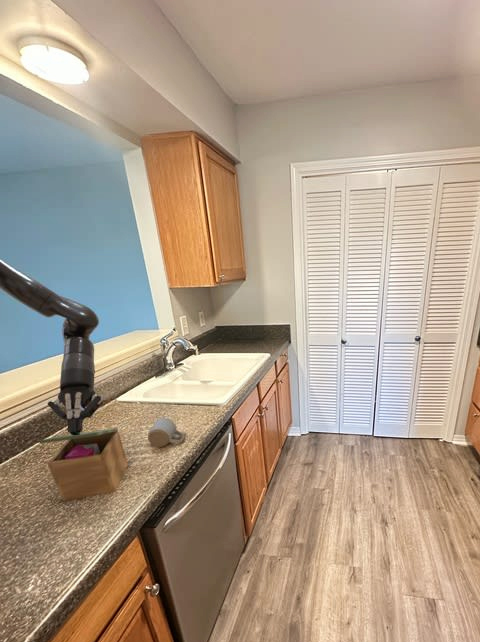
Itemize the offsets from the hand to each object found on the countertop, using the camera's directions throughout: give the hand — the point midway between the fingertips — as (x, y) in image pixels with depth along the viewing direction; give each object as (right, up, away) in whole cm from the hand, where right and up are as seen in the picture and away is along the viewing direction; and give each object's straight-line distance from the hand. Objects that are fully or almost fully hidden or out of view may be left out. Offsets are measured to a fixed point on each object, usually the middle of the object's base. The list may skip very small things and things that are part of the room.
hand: (74, 433), depth 82 cm
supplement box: (-1, -15, +9) cm, 18 cm away
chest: (0, -15, +10) cm, 18 cm away
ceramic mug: (+11, -6, +31) cm, 34 cm away
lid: (-1, -1, +4) cm, 4 cm away
